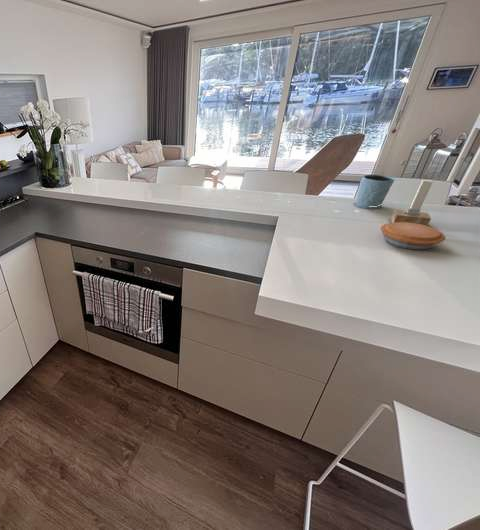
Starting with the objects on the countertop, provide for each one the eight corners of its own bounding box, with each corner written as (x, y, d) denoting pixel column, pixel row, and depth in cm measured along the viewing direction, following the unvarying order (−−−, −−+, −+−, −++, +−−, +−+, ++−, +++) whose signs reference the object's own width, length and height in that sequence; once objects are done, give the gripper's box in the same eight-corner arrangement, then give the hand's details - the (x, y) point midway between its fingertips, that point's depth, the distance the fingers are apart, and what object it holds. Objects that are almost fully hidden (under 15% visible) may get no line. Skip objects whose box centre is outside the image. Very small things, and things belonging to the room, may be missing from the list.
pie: (369, 231, 103) (374, 218, 100) (424, 233, 98) (431, 220, 95) (387, 250, 91) (393, 236, 88) (451, 255, 86) (460, 240, 83)
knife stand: (423, 223, 105) (428, 212, 103) (426, 229, 101) (431, 218, 99) (390, 219, 109) (395, 209, 107) (392, 225, 105) (396, 215, 103)
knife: (413, 223, 105) (433, 180, 97) (413, 225, 104) (434, 181, 96) (402, 222, 106) (421, 179, 98) (402, 224, 105) (422, 180, 97)
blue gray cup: (352, 200, 129) (361, 173, 123) (381, 202, 124) (392, 174, 118) (354, 208, 122) (364, 179, 116) (385, 210, 117) (397, 181, 111)
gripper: (533, 178, 91) (470, 175, 98) (564, 198, 77) (487, 193, 85) (520, 197, 94) (460, 193, 102) (548, 220, 81) (475, 213, 88)
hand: (473, 193), depth 93 cm, fingers open, 8 cm apart
